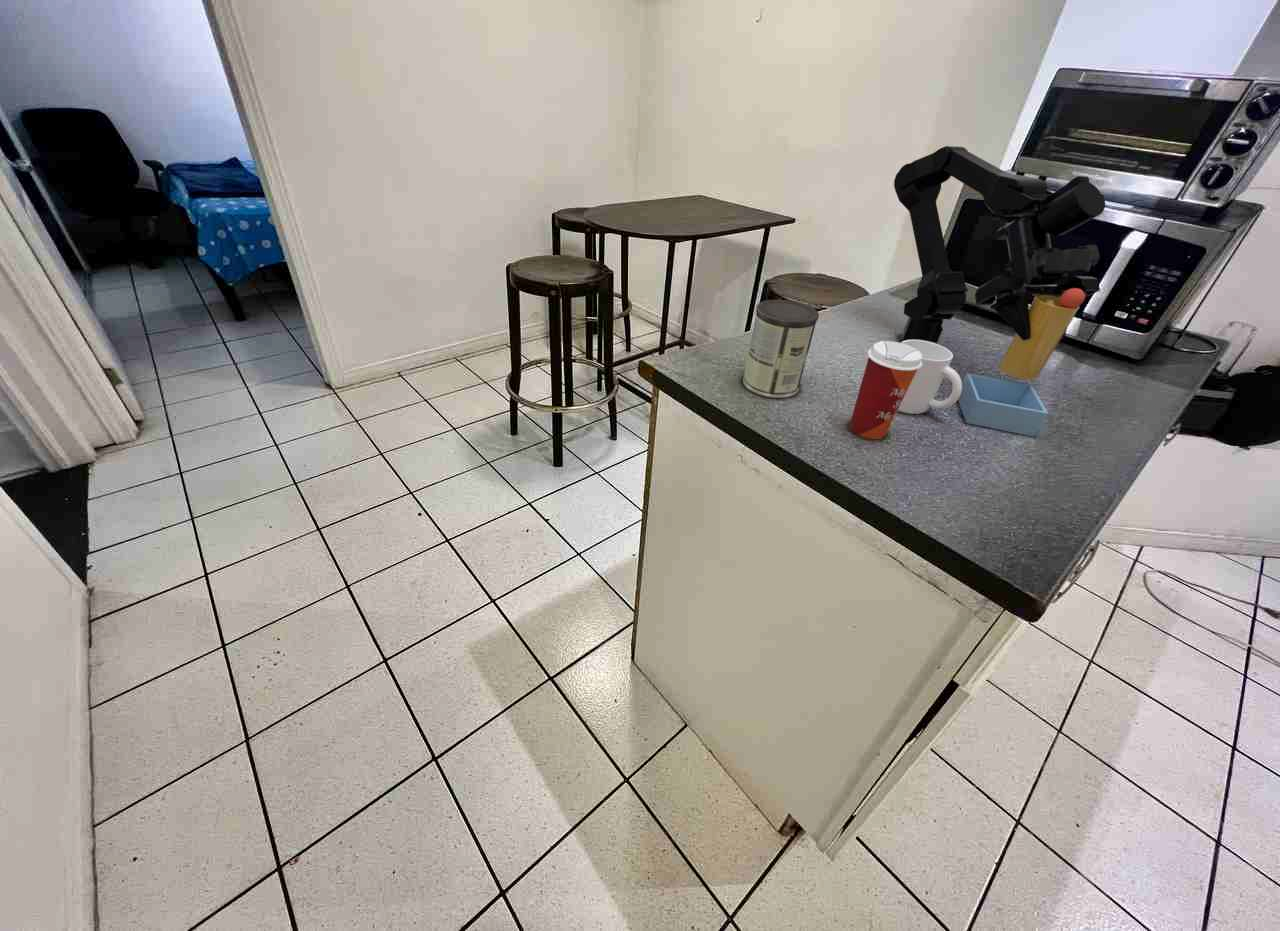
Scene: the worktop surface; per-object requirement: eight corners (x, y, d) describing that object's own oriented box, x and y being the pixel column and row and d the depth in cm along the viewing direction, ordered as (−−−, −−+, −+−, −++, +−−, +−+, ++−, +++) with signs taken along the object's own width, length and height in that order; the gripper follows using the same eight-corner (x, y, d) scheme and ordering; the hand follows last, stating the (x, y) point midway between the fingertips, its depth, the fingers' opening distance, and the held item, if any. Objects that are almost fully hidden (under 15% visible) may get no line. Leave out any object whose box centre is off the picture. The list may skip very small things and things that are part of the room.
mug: (958, 417, 90) (985, 362, 84) (932, 430, 86) (959, 374, 80) (896, 387, 98) (917, 335, 92) (870, 398, 94) (890, 345, 88)
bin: (965, 423, 89) (977, 400, 86) (956, 394, 97) (966, 373, 94) (1034, 436, 87) (1048, 413, 84) (1018, 406, 95) (1031, 384, 92)
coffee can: (761, 366, 102) (777, 294, 93) (808, 385, 97) (830, 311, 88) (731, 383, 96) (744, 307, 87) (779, 404, 90) (799, 326, 82)
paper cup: (886, 448, 81) (921, 367, 73) (837, 432, 84) (865, 351, 76) (896, 426, 87) (929, 348, 78) (849, 412, 90) (876, 334, 81)
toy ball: (1053, 297, 83) (1073, 297, 80) (1065, 284, 83) (1086, 283, 80) (1059, 312, 84) (1079, 312, 82) (1071, 298, 84) (1092, 298, 82)
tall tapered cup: (998, 372, 91) (1036, 302, 83) (998, 359, 95) (1034, 292, 88) (1039, 383, 89) (1081, 312, 81) (1037, 369, 93) (1077, 300, 86)
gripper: (1023, 222, 79) (1038, 320, 78) (1126, 225, 82) (1143, 320, 81) (967, 259, 90) (979, 346, 89) (1060, 261, 93) (1073, 345, 92)
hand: (1043, 339), depth 87 cm, fingers closed on tall tapered cup, 6 cm apart
